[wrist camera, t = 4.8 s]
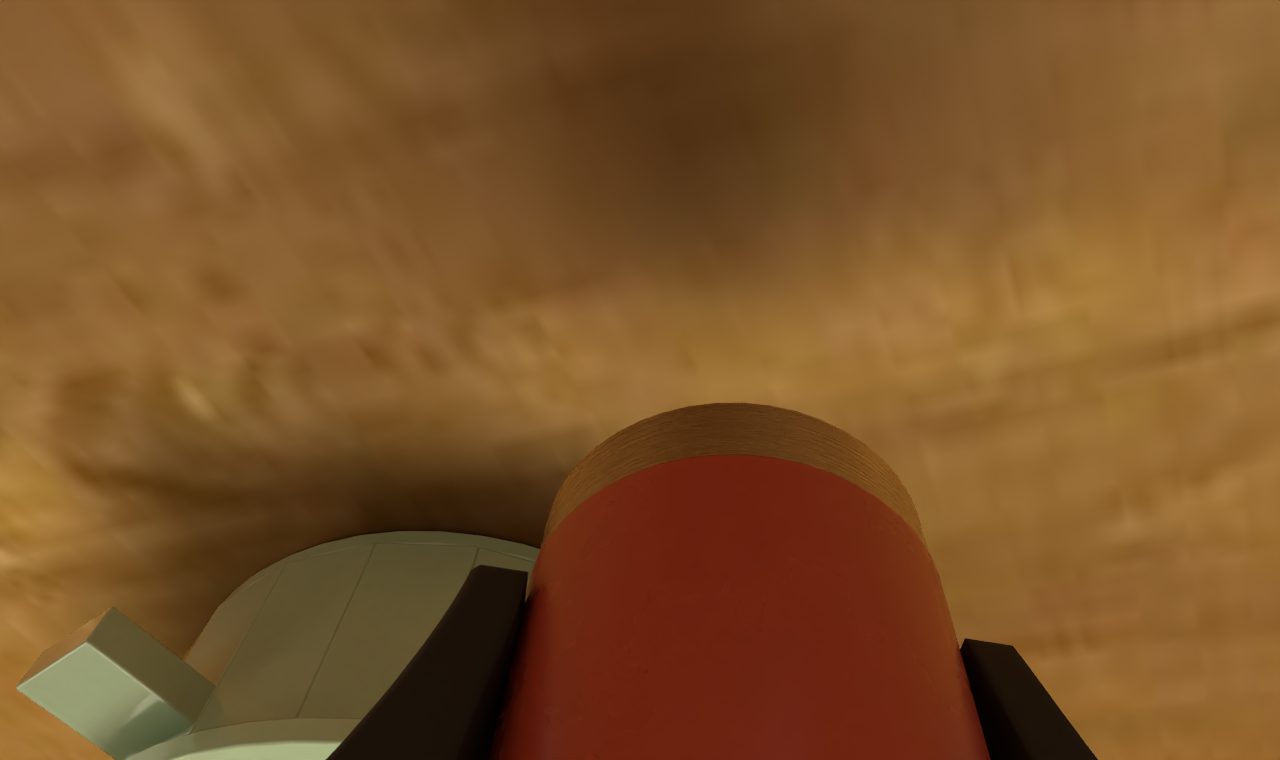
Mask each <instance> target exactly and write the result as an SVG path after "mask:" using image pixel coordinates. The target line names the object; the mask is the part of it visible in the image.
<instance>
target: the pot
mask: <svg viewBox="0 0 1280 760" xmlns="http://www.w3.org/2000/svg"><path fill="white" fill-rule="evenodd" d="M539 553H540V549H538V548H535V547H532V546H529V545H526V544H521V543H517V542H512V541H507V540H502V539H497V538H493V537H488V536H483V535H473V534H464V533H455V532H445V531H394V532H384V533H375V534H365V535H358V536H353V537H349V538H345V539H340V540H336V541H331V542H327V543H322V544H320V545H317V546H314V547H311V548H309V549H306V550H303V551H300V552H297V553H295V554H292V555H289V556H287V557H285V558H284V559H282V560H280V561H278V562H276V563H274V564H272V565H270V566H268V567H266V568H265V569H263V570H261V571H259V572H258V573H256V574H255V575H254V576H252V577H251V578H250V579H248V580H247V581H246V582H244V583H243V584H242V585H240V586H239V587H238V588H236V589H235V590H234V591H233V592H232V593H231V594H230V595H229V596H228V597H227V598H226V599H225V600H224V601H223V603H222V604H220V605H219V607H217V608H216V610H215V611H214V613H213V614H212V616H211V617H210V619H209V620H208V622H207V624H206V625H205V627H204V628H203V630H202V631H201V633H200V634H199V636H198V637H197V639H196V640H195V642H194V643H193V645H192V646H191V648H190V649H189V651H188V652H187V654H186V655H185V657H184V658H183V660H182V659H181V658H179V657H178V656H177V655H175V654H174V653H173V652H172V651H170V650H169V649H168V648H166V647H165V646H164V645H163V644H161V643H160V642H159V641H157V640H156V639H155V638H154V637H152V636H151V635H150V634H149V633H147V632H146V631H145V630H143V629H142V628H141V627H140V626H138V625H137V624H136V623H134V622H133V621H132V620H131V619H129V618H128V617H127V616H126V615H124V614H123V613H122V612H120V611H119V610H118V609H117V608H115V607H110V608H109V609H107V610H106V611H104V612H103V613H101V614H100V615H98V616H97V617H95V618H94V619H92V620H91V621H89V622H88V623H86V624H85V625H83V626H82V627H80V628H79V629H77V630H76V631H74V632H73V633H71V634H70V635H68V636H67V637H65V638H64V639H62V640H60V641H59V642H57V643H56V644H54V645H53V646H51V647H50V648H48V649H47V650H45V651H44V652H43V653H42V654H41V655H40V656H39V658H38V659H37V660H36V662H35V663H34V664H33V665H32V667H31V668H30V669H29V671H28V672H27V673H26V674H25V676H24V677H23V678H22V679H21V681H20V682H19V683H18V685H17V686H16V689H17V690H18V691H20V692H21V693H22V694H24V695H25V696H27V697H28V698H29V699H31V700H32V701H34V702H35V703H37V704H38V705H39V706H41V707H42V708H44V709H45V710H46V711H48V712H49V713H51V714H52V715H53V716H55V717H56V718H58V719H59V720H60V721H62V722H63V723H65V724H66V725H68V726H69V727H70V728H72V729H73V730H75V731H76V732H77V733H79V734H80V735H82V736H83V737H84V738H86V739H87V740H89V741H90V742H91V743H93V744H94V745H96V746H97V747H99V748H100V749H101V750H103V751H104V752H106V753H107V754H108V755H110V756H111V757H113V758H114V759H115V760H124V759H126V758H128V757H130V756H132V755H135V754H137V753H139V752H141V751H143V750H145V749H147V748H150V747H152V746H154V745H156V744H158V743H162V742H165V741H168V740H171V739H174V738H178V737H181V736H184V735H187V734H191V733H194V732H197V731H200V730H205V729H211V728H216V727H222V726H227V725H233V724H238V723H244V722H249V721H261V720H274V719H287V718H301V717H316V718H361V719H363V718H364V717H365V716H366V714H367V713H368V712H369V711H370V710H371V709H372V708H373V706H374V705H375V704H376V703H377V702H378V701H379V700H380V698H381V697H382V696H383V695H384V694H385V693H386V691H387V690H388V689H389V688H390V686H391V685H392V684H393V683H394V681H395V680H396V679H397V678H398V676H399V675H400V674H401V672H402V671H403V670H404V669H405V667H406V666H407V665H408V663H409V662H410V661H411V659H412V658H413V657H414V656H415V654H416V653H417V652H418V650H419V649H420V648H421V647H422V645H423V644H424V643H425V641H426V640H427V638H428V637H429V636H430V634H431V633H432V631H433V630H434V629H435V627H436V626H437V624H438V623H439V622H440V620H441V619H442V617H443V616H444V614H445V613H446V611H447V610H448V608H449V607H450V605H451V604H452V602H453V600H454V599H455V597H456V595H457V594H458V592H459V591H460V589H461V587H462V586H463V584H464V582H465V580H466V578H467V576H468V575H469V573H470V571H471V570H472V569H474V568H475V567H477V566H479V565H487V566H493V567H500V568H506V569H513V570H520V571H526V572H528V580H527V588H528V583H529V579H530V575H531V572H532V570H533V567H534V564H535V562H536V559H537V557H538V554H539ZM526 592H527V589H526Z"/></svg>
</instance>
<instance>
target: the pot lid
mask: <svg viewBox="0 0 1280 760" xmlns="http://www.w3.org/2000/svg"><path fill="white" fill-rule="evenodd" d="M361 720H362V719H361V718H316V717H301V718H287V719H274V720H261V721H249V722H244V723H238V724H233V725H227V726H222V727H216V728H211V729H205V730H200V731H197V732H194V733H191V734H187V735H184V736H181V737H178V738H174V739H171V740H168V741H165V742H162V743H158V744H156V745H154V746H152V747H150V748H147V749H145V750H143V751H141V752H139V753H137V754H135V755H132V756H130V757H128V758H126V759H124V760H326V759H327V758H328V757H329V756H330V755H331V753H332V752H333V751H334V750H335V749H336V748H337V747H338V746H339V745H340V744H341V743H342V742H343V741H344V739H345V738H346V737H347V736H348V735H349V734H350V733H351V731H352V730H353V729H354V728H355V727H356V726H357V725H358V724H359V722H360V721H361Z"/></svg>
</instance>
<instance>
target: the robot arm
mask: <svg viewBox="0 0 1280 760" xmlns="http://www.w3.org/2000/svg"><path fill="white" fill-rule="evenodd" d="M527 580H528V572H526V571H520V570H513V569H506V568H500V567H493V566H487V565H479V566H477V567H475V568H474V569H472V570H471V571H470V573H469V575H468V576H467V578H466V580H465V582H464V584H463V586H462V587H461V589H460V591H459V592H458V594H457V595H456V597H455V599H454V600H453V602H452V604H451V605H450V607H449V608H448V610H447V611H446V613H445V614H444V616H443V617H442V619H441V620H440V622H439V623H438V624H437V626H436V627H435V629H434V630H433V631H432V633H431V634H430V636H429V637H428V638H427V640H426V641H425V643H424V644H423V645H422V647H421V648H420V649H419V650H418V652H417V653H416V654H415V656H414V657H413V658H412V659H411V661H410V662H409V663H408V665H407V666H406V667H405V669H404V670H403V671H402V672H401V674H400V675H399V676H398V678H397V679H396V680H395V681H394V683H393V684H392V685H391V686H390V688H389V689H388V690H387V691H386V693H385V694H384V695H383V696H382V697H381V698H380V700H379V701H378V702H377V703H376V704H375V705H374V706H373V708H372V709H371V710H370V711H369V712H368V713H367V714H366V716H365V717H364V718H363V719H362V720H361V721H360V722H359V724H358V725H357V726H356V727H355V728H354V729H353V730H352V731H351V733H350V734H349V735H348V736H347V737H346V738H345V739H344V741H343V742H342V743H341V744H340V745H339V746H338V747H337V748H336V749H335V750H334V751H333V752H332V753H331V755H330V756H329V757H328V758H327V759H326V760H487V757H488V753H489V748H490V744H491V740H492V736H493V731H494V727H495V723H496V719H497V715H498V710H499V706H500V702H501V698H502V693H503V689H504V686H505V682H506V678H507V675H508V671H509V668H510V664H511V660H512V656H513V652H514V647H515V643H516V639H517V635H518V630H519V626H520V622H521V618H522V613H523V609H524V605H525V598H526V589H527ZM960 652H961V656H962V659H963V663H964V666H965V670H966V674H967V677H968V681H969V684H970V688H971V691H972V695H973V699H974V702H975V706H976V709H977V713H978V716H979V720H980V723H981V727H982V731H983V734H984V738H985V741H986V745H987V748H988V752H989V755H990V759H991V760H1098V759H1097V758H1096V757H1095V755H1094V754H1093V753H1092V751H1091V750H1090V749H1089V747H1088V746H1087V745H1086V744H1085V742H1084V741H1083V740H1082V738H1081V737H1080V735H1079V734H1078V733H1077V731H1076V730H1075V729H1074V727H1073V726H1072V725H1071V723H1070V722H1069V721H1068V719H1067V718H1066V717H1065V715H1064V714H1063V713H1062V711H1061V710H1060V709H1059V707H1058V706H1057V705H1056V703H1055V702H1054V700H1053V699H1052V698H1051V696H1050V695H1049V694H1048V692H1047V691H1046V690H1045V688H1044V687H1043V686H1042V684H1041V683H1040V681H1039V680H1038V679H1037V677H1036V676H1035V675H1034V673H1033V672H1032V671H1031V669H1030V668H1029V667H1028V665H1027V664H1026V663H1025V661H1024V660H1023V659H1022V657H1021V656H1020V655H1019V653H1018V652H1017V651H1016V649H1015V648H1014V647H1013V646H1011V645H1004V644H998V643H991V642H984V641H978V640H971V639H965V640H964V642H963V644H962V647H961V649H960Z"/></svg>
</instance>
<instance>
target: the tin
mask: <svg viewBox="0 0 1280 760" xmlns="http://www.w3.org/2000/svg"><path fill="white" fill-rule="evenodd" d="M487 760H991V759H990V755H989V752H988V748H987V745H986V741H985V738H984V734H983V731H982V727H981V723H980V720H979V716H978V713H977V709H976V706H975V702H974V699H973V695H972V691H971V688H970V684H969V681H968V677H967V674H966V670H965V666H964V663H963V659H962V656H961V652H960V649H959V645H958V642H957V638H956V634H955V631H954V627H953V624H952V620H951V617H950V613H949V610H948V606H947V602H946V599H945V595H944V592H943V588H942V585H941V581H940V577H939V574H938V572H937V570H936V567H935V565H934V563H933V560H932V558H931V556H930V554H929V552H928V549H927V546H926V542H925V538H924V535H923V531H922V528H921V524H920V520H919V517H918V514H917V511H916V509H915V506H914V504H913V502H912V499H911V497H910V495H909V493H908V492H907V490H906V489H905V487H904V485H903V484H902V482H901V481H900V479H899V478H898V476H897V475H896V474H895V473H894V472H893V471H892V469H891V468H890V467H889V466H888V465H887V464H886V463H885V461H884V460H883V459H881V458H880V457H879V456H878V455H877V454H876V453H874V452H873V451H872V450H871V449H870V448H869V447H867V446H866V445H865V444H864V443H862V442H861V441H859V440H857V439H856V438H854V437H853V436H851V435H850V434H848V433H847V432H845V431H843V430H841V429H839V428H837V427H835V426H833V425H831V424H829V423H827V422H825V421H823V420H820V419H818V418H815V417H812V416H809V415H806V414H803V413H800V412H797V411H793V410H788V409H784V408H779V407H774V406H770V405H760V404H750V403H712V404H704V405H696V406H688V407H684V408H680V409H676V410H671V411H667V412H663V413H660V414H658V415H655V416H652V417H649V418H647V419H644V420H641V421H639V422H637V423H635V424H633V425H631V426H629V427H627V428H625V429H623V430H621V431H619V432H617V433H616V434H614V435H613V436H611V437H610V438H608V439H607V440H606V441H604V442H603V443H601V444H600V445H598V446H597V447H596V448H595V449H594V450H592V451H591V452H590V453H589V454H588V455H587V456H586V457H585V458H584V459H583V460H581V461H580V462H579V464H578V465H577V466H576V467H575V468H574V470H573V471H572V472H571V473H570V474H569V476H568V477H567V478H566V480H565V481H564V483H563V485H562V486H561V488H560V490H559V491H558V493H557V495H556V497H555V499H554V502H553V504H552V507H551V509H550V512H549V515H548V519H547V523H546V527H545V531H544V536H543V540H542V544H541V549H540V553H539V554H538V557H537V559H536V562H535V564H534V567H533V570H532V572H531V575H530V579H529V583H528V588H527V592H526V598H525V605H524V609H523V613H522V618H521V622H520V626H519V630H518V635H517V639H516V643H515V647H514V652H513V656H512V660H511V664H510V668H509V671H508V675H507V678H506V682H505V686H504V689H503V693H502V698H501V702H500V706H499V710H498V715H497V719H496V723H495V727H494V731H493V736H492V740H491V744H490V748H489V753H488V757H487Z"/></svg>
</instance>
